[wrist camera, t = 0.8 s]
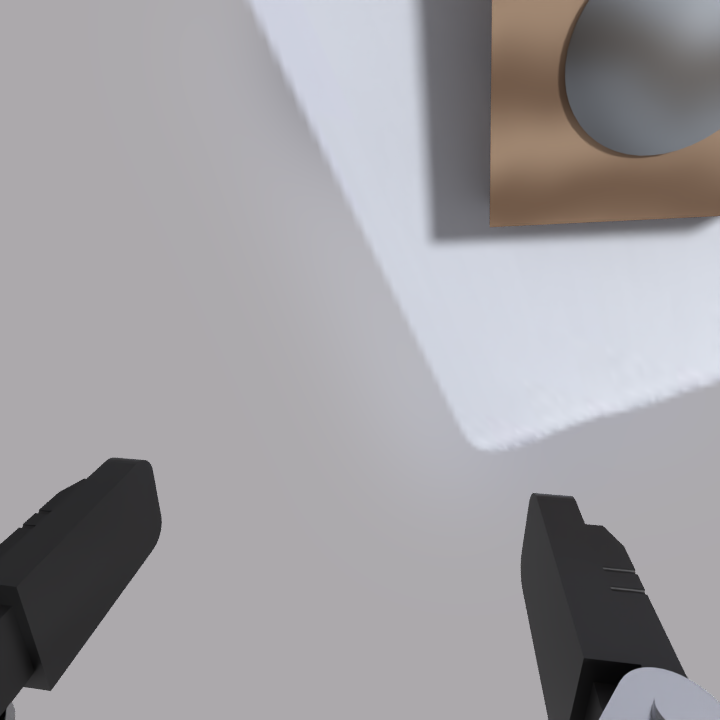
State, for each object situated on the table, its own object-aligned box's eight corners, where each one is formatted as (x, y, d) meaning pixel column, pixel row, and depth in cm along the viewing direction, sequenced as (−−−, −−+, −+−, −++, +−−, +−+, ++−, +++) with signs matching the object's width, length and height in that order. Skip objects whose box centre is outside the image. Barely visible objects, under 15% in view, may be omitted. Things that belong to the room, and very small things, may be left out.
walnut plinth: (494, -125, 24) (493, -144, 21) (907, -216, 20) (990, -258, 17) (490, 204, 33) (489, 229, 30) (777, 187, 29) (813, 213, 26)
